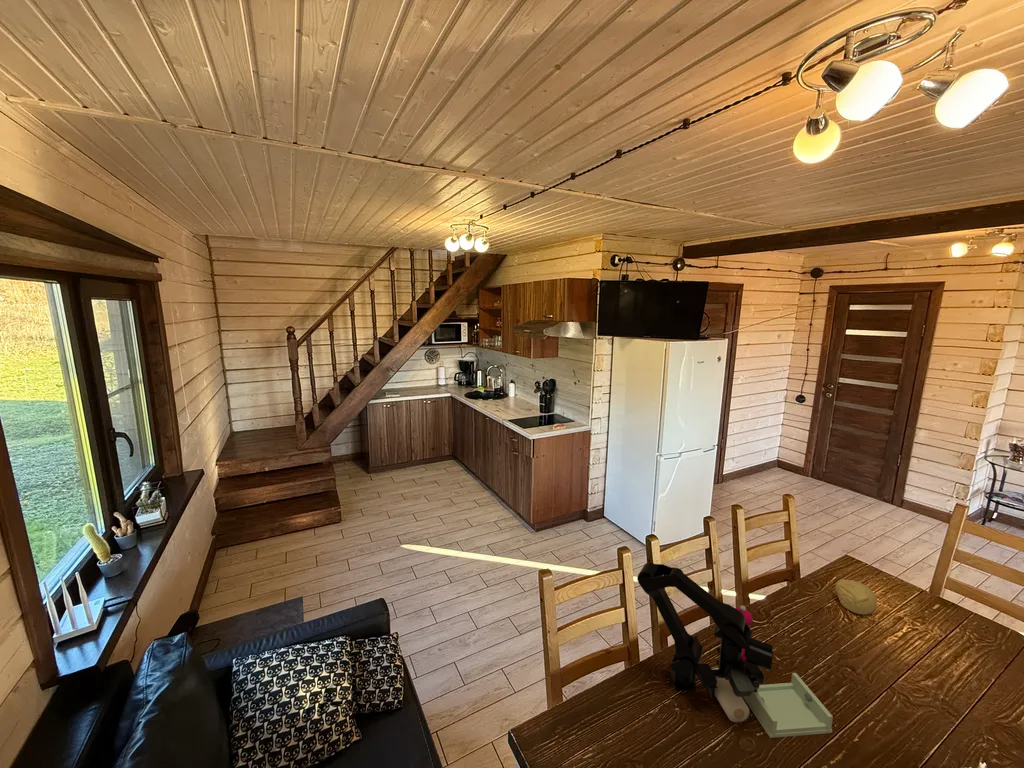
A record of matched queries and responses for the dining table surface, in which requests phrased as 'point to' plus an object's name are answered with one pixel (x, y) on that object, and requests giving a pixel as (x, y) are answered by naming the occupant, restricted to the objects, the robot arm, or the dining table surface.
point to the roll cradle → (789, 709)
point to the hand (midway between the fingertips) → (726, 696)
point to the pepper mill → (748, 621)
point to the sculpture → (856, 596)
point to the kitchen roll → (731, 701)
